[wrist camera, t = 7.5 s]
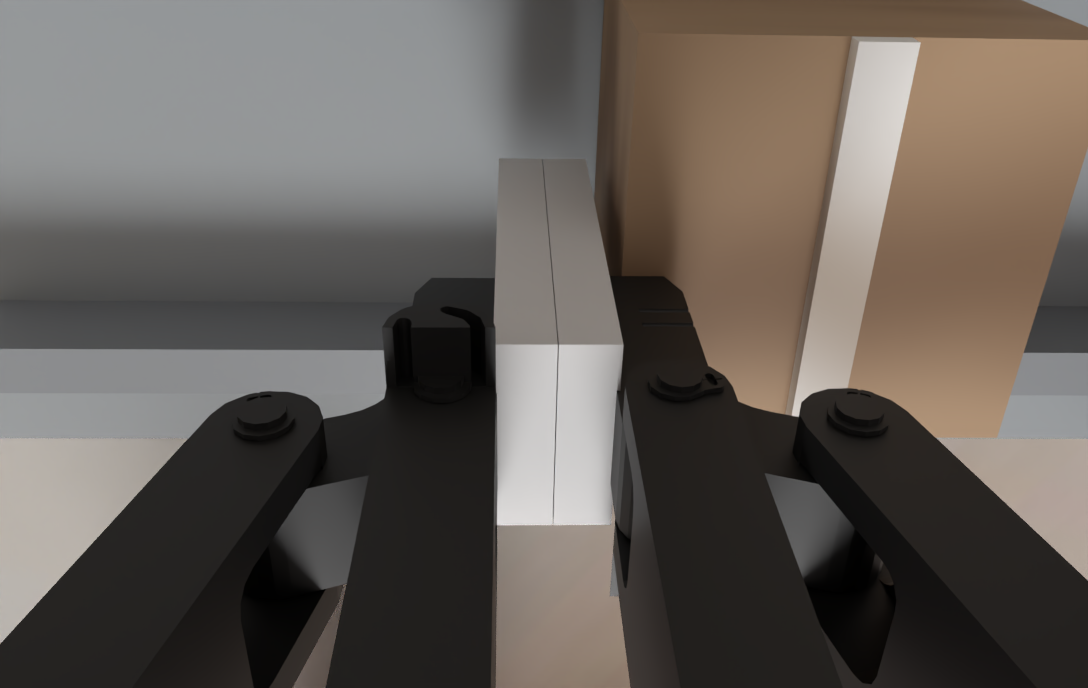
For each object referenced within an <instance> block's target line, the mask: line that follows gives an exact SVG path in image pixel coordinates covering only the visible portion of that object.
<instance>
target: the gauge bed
mask: <svg viewBox="0 0 1088 688" xmlns="http://www.w3.org/2000/svg"><path fill="white" fill-rule="evenodd" d="M1022 1H1025V2H1027V3H1030V4H1032V5H1035V6H1037V7H1040V8H1042V9H1045V10H1047V11H1050V12H1052V13H1054V14H1057V15H1059V16H1062V17H1064V18H1067V19H1069V20H1072V21H1074V22H1077V23H1079V24H1082V25H1084V26H1087V27H1088V0H1022ZM603 14H604V0H0V438H189V437H190V436H191V435H192V434H193V433H194V432H195V431H196V430H197V429H198V428H199V427H200V425H201V424H202V423H203V422H204V421H205V420H206V419H207V418H208V417H209V416H210V415H211V414H212V413H213V412H215V411H216V410H217V409H218V408H220V407H221V406H222V405H224V404H225V403H227V402H230V401H232V400H235V399H237V398H240V397H242V396H245V395H248V394H252V393H256V392H257V393H260V392H265V391H277V392H291V393H295V394H299V395H303V396H306V397H308V398H309V399H311V400H312V401H313V402H315V403H316V404H317V405H319V407H320V410H321V413H322V416H323V419H325V418H330V417H335V416H340V415H345V414H349V413H353V412H357V411H360V410H363V409H365V408H368V407H370V406H372V405H375V404H377V403H378V402H380V401H381V400H383V399H384V397H385V392H386V376H385V362H384V349H383V335H382V327H383V325H384V323H385V322H386V320H387V319H388V317H390V316H391V315H393V314H395V313H396V312H398V311H400V310H401V309H403V308H407V307H410V306H412V305H413V300H414V295H415V292H417V291H418V290H419V289H420V288H421V287H422V286H423V285H424V284H425V283H426V282H427V281H428V280H430V279H431V278H495V266H496V236H497V205H498V174H499V158H511V159H542V164H543V159H586V163H587V168H588V173H589V178H590V183H591V188H592V193H593V198H594V192H595V172H596V153H597V133H598V113H599V93H600V73H601V53H602V33H603ZM936 439H1088V149H1087V152H1086V155H1085V159H1084V162H1083V165H1082V168H1081V171H1080V174H1079V178H1078V181H1077V184H1076V187H1075V190H1074V194H1073V197H1072V200H1071V203H1070V206H1069V210H1068V213H1067V216H1066V219H1065V222H1064V226H1063V229H1062V232H1061V235H1060V238H1059V241H1058V245H1057V248H1056V251H1055V254H1054V257H1053V261H1052V264H1051V267H1050V270H1049V273H1048V277H1047V280H1046V283H1045V286H1044V289H1043V293H1042V296H1041V299H1040V302H1039V305H1038V308H1037V312H1036V315H1035V318H1034V321H1033V324H1032V328H1031V331H1030V334H1029V337H1028V340H1027V344H1026V347H1025V350H1024V353H1023V356H1022V360H1021V363H1020V366H1019V369H1018V372H1017V375H1016V379H1015V382H1014V385H1013V388H1012V391H1011V395H1010V398H1009V401H1008V404H1007V407H1006V411H1005V414H1004V417H1003V420H1002V423H1001V427H1000V430H999V433H998V436H997V438H936Z"/></svg>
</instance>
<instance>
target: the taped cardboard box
mask: <svg viewBox="0 0 1088 688" xmlns="http://www.w3.org/2000/svg"><path fill="white" fill-rule="evenodd" d="M1087 149H1088V27H1087V26H1084V25H1082V24H1079V23H1077V22H1074V21H1072V20H1069V19H1067V18H1064V17H1062V16H1059V15H1057V14H1054V13H1052V12H1050V11H1047V10H1045V9H1042V8H1040V7H1037V6H1035V5H1032V4H1030V3H1027V2H1025V1H1022V0H604V14H603V33H602V53H601V73H600V93H599V113H598V133H597V153H596V172H595V192H594V202H595V207H596V212H597V217H598V222H599V227H600V232H601V237H602V242H603V247H604V251H605V256H606V261H607V266H608V271H609V276H664V277H665V278H667V279H668V280H669V281H670V282H672V283H673V284H674V285H675V286H676V287H678V288H679V289H680V290H681V291H683V294H684V297H685V300H686V303H687V306H688V309H689V312H690V314H691V317H692V320H693V327H695V329H696V332H697V335H698V338H699V341H700V343H701V346H702V349H703V352H704V355H705V358H706V361H707V364H708V366H710V367H712V368H713V369H715V370H716V371H718V372H720V373H721V374H723V375H724V376H725V377H726V378H727V379H728V381H729V382H730V383H731V385H732V386H733V388H734V391H735V394H736V397H737V399H738V401H739V402H741V403H744V404H746V405H749V406H751V407H754V408H758V409H762V410H766V411H770V412H775V413H781V414H786V415H791V416H796V417H799V413H800V407H801V402H802V401H803V400H805V399H806V398H807V397H808V396H809V395H811V394H812V393H815V392H819V391H822V390H826V389H838V388H853V389H858V390H865V391H870V392H872V393H874V394H877V395H879V396H882V397H884V398H887V399H890V400H892V401H893V402H895V403H896V404H898V405H899V406H900V407H902V408H903V409H905V410H906V411H908V412H909V413H910V414H911V415H912V416H913V417H914V418H915V419H916V420H917V421H918V422H919V423H920V424H921V425H922V426H924V427H925V428H926V429H927V430H928V431H929V432H930V433H931V434H932V435H933V436H934V437H935V438H997V436H998V433H999V430H1000V427H1001V423H1002V420H1003V417H1004V414H1005V411H1006V407H1007V404H1008V401H1009V398H1010V395H1011V391H1012V388H1013V385H1014V382H1015V379H1016V375H1017V372H1018V369H1019V366H1020V363H1021V360H1022V356H1023V353H1024V350H1025V347H1026V344H1027V340H1028V337H1029V334H1030V331H1031V328H1032V324H1033V321H1034V318H1035V315H1036V312H1037V308H1038V305H1039V302H1040V299H1041V296H1042V293H1043V289H1044V286H1045V283H1046V280H1047V277H1048V273H1049V270H1050V267H1051V264H1052V261H1053V257H1054V254H1055V251H1056V248H1057V245H1058V241H1059V238H1060V235H1061V232H1062V229H1063V226H1064V222H1065V219H1066V216H1067V213H1068V210H1069V206H1070V203H1071V200H1072V197H1073V194H1074V190H1075V187H1076V184H1077V181H1078V178H1079V174H1080V171H1081V168H1082V165H1083V162H1084V159H1085V155H1086V152H1087Z"/></svg>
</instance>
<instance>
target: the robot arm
mask: <svg viewBox="0 0 1088 688" xmlns="http://www.w3.org/2000/svg"><path fill="white" fill-rule="evenodd" d="M382 335H383V349H384V362H385V376H386V392H385V397H384V399H383V400H381V401H380V402H378V403H377V404H375V405H372V406H370V407H368V408H365V409H363V410H360V411H357V412H353V413H349V414H345V415H340V416H335V417H330V418H325V419H323V416H322V413H321V410H320V407H319V405H317V404H316V403H315V402H313V401H312V400H311V399H309V398H308V397H306V396H303V395H299V394H295V393H291V392H277V391H265V392H260V393H257V392H256V393H252V394H248V395H245V396H242V397H240V398H237V399H235V400H232V401H230V402H227V403H225V404H224V405H222V406H221V407H220V408H218V409H217V410H216V411H215V412H213V413H212V414H211V415H210V416H209V417H208V418H207V419H206V420H205V421H204V422H203V423H202V424H201V425H200V427H199V428H198V429H197V430H196V431H195V432H194V433H193V434H192V435H191V436H190V437H189V439H188V440H187V441H186V442H185V443H184V444H183V445H182V446H181V447H180V448H179V449H178V451H177V452H176V453H175V454H174V455H173V456H172V457H171V458H170V459H169V460H168V461H167V463H166V464H165V465H164V466H163V467H162V468H161V469H160V470H159V471H158V472H157V473H156V475H155V476H154V477H153V478H152V479H151V480H150V481H149V482H148V483H147V484H146V485H145V487H144V488H143V489H142V490H141V491H140V492H139V493H138V494H137V495H136V496H135V497H134V499H133V500H132V501H131V502H130V503H129V504H128V505H127V506H126V507H125V508H124V510H123V511H122V512H121V513H120V514H119V515H118V516H117V517H116V518H115V519H114V520H113V522H112V523H111V524H110V525H109V526H108V527H107V528H106V529H105V530H104V531H103V532H102V534H101V535H100V536H99V537H98V538H97V539H96V540H95V541H94V542H93V543H92V544H91V546H90V547H89V548H88V549H87V550H86V551H85V552H84V553H83V554H82V555H81V556H80V558H79V559H78V560H77V561H76V562H75V563H74V564H73V565H72V566H71V567H70V568H69V570H68V571H67V572H66V573H65V574H64V575H63V576H62V577H61V578H60V579H59V581H58V582H57V583H56V584H55V585H54V586H53V587H52V588H51V589H50V590H49V591H48V593H47V594H46V595H45V596H44V597H43V598H42V599H41V600H40V601H39V602H38V603H37V605H36V606H35V607H34V608H33V609H32V610H31V611H30V612H29V613H28V614H27V615H26V617H25V618H24V619H23V620H22V621H21V622H20V623H19V624H18V625H17V626H16V627H15V629H14V630H13V631H12V632H11V633H10V634H9V635H8V636H7V637H6V638H5V639H4V641H3V642H2V643H1V644H0V688H292V687H293V685H294V683H295V682H296V680H297V678H298V676H299V674H300V672H301V671H302V669H303V667H304V665H305V663H306V661H307V659H308V658H309V656H310V654H311V652H312V650H313V648H314V647H315V645H316V643H317V641H318V639H319V637H320V635H321V634H322V632H323V630H324V628H325V626H326V624H327V623H328V621H329V619H330V617H331V615H332V613H333V612H334V610H335V608H336V606H337V604H338V602H339V599H340V595H341V591H342V588H343V586H342V585H343V584H347V585H346V590H345V595H344V600H343V605H342V610H341V615H340V620H339V625H338V630H337V635H336V640H335V645H334V650H333V655H332V660H331V665H330V670H329V675H328V679H327V684H326V688H495V686H496V602H497V525H552V521H553V525H611V517H612V503H613V505H614V512H615V532H614V546H613V559H612V573H611V587H610V596H619V601H620V609H621V617H622V624H623V632H624V640H625V648H626V655H627V663H628V671H629V679H630V687H631V688H1088V580H1087V579H1085V578H1084V577H1083V576H1082V575H1081V574H1080V573H1079V572H1078V571H1077V570H1076V569H1075V568H1074V567H1073V566H1072V565H1071V564H1069V563H1068V562H1067V561H1066V560H1065V559H1064V558H1063V557H1062V556H1061V555H1060V554H1059V553H1058V552H1057V551H1056V550H1055V549H1054V548H1052V547H1051V546H1050V545H1049V544H1048V543H1047V542H1046V541H1045V540H1044V539H1043V538H1042V537H1041V536H1040V535H1039V534H1038V533H1036V532H1035V531H1034V530H1033V529H1032V528H1031V527H1030V526H1029V525H1028V524H1027V523H1026V522H1025V521H1024V520H1023V519H1022V518H1020V517H1019V516H1018V515H1017V514H1016V513H1015V512H1014V511H1013V510H1012V509H1011V508H1010V507H1009V506H1008V505H1007V504H1006V503H1005V502H1003V501H1002V500H1001V499H1000V498H999V497H998V496H997V495H996V494H995V493H994V492H993V491H992V490H991V489H990V488H989V487H987V486H986V485H985V484H984V483H983V482H982V481H981V480H980V479H979V478H978V477H977V476H976V475H975V474H974V473H973V472H971V471H970V470H969V469H968V468H967V467H966V466H965V465H964V464H963V463H962V462H961V461H960V460H959V459H958V458H957V457H956V456H954V455H953V454H952V453H951V452H950V451H949V450H948V449H947V448H946V447H945V446H944V445H943V444H942V443H941V442H940V441H938V440H937V439H936V438H935V437H934V436H933V435H932V434H931V433H930V432H929V431H928V430H927V429H926V428H925V427H924V426H922V425H921V424H920V423H919V422H918V421H917V420H916V419H915V418H914V417H913V416H912V415H911V414H910V413H909V412H908V411H906V410H905V409H903V408H902V407H900V406H899V405H898V404H896V403H895V402H893V401H892V400H890V399H887V398H884V397H882V396H879V395H877V394H874V393H872V392H870V391H865V390H858V389H853V388H838V389H826V390H822V391H819V392H815V393H812V394H811V395H809V396H808V397H807V398H806V399H805V400H803V401H802V402H801V407H800V413H799V417H796V416H791V415H786V414H781V413H775V412H770V411H766V410H762V409H758V408H754V407H751V406H749V405H746V404H744V403H741V402H739V401H738V399H737V397H736V394H735V391H734V388H733V386H732V385H731V383H730V382H729V381H728V379H727V378H726V377H725V376H724V375H723V374H721V373H720V372H718V371H716V370H715V369H713V368H712V367H710V366H708V364H707V361H706V358H705V355H704V352H703V349H702V346H701V343H700V341H699V338H698V335H697V332H696V329H695V327H693V320H692V317H691V314H690V312H689V309H688V306H687V303H686V300H685V297H684V294H683V291H681V290H680V289H679V288H678V287H676V286H675V285H674V284H673V283H672V282H670V281H669V280H668V279H667V278H665V277H664V276H609V271H608V266H607V261H606V256H605V251H604V247H603V242H602V237H601V232H600V227H599V222H598V217H597V212H596V207H595V202H594V198H593V193H592V188H591V183H590V178H589V173H588V168H587V163H586V159H543V164H542V159H511V158H499V174H498V205H497V236H496V266H495V278H431V279H430V280H428V281H427V282H426V283H425V284H424V285H423V286H422V287H421V288H420V289H419V290H418V291H417V292H415V295H414V300H413V305H412V306H410V307H407V308H403V309H401V310H400V311H398V312H396V313H395V314H393V315H391V316H390V317H388V319H387V320H386V322H385V323H384V325H383V327H382Z"/></svg>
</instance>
